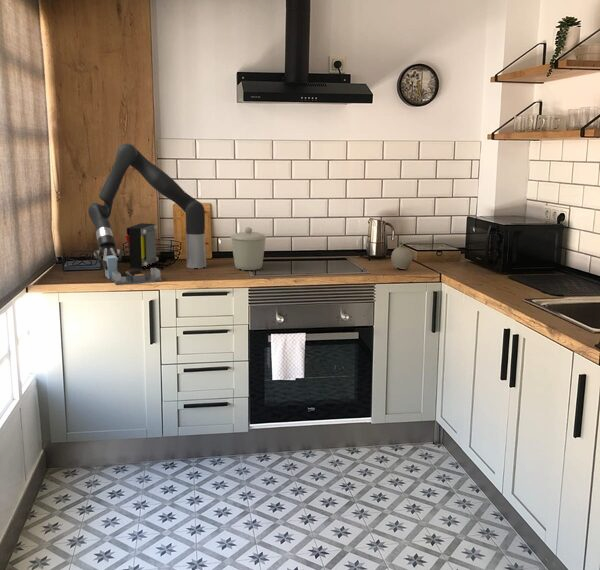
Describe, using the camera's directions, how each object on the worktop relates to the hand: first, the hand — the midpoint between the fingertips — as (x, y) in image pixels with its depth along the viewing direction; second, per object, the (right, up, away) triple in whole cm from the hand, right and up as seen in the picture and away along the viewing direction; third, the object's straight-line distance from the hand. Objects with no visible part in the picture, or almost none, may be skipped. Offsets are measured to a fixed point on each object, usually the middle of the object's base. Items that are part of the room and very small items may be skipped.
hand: (111, 268), depth 325 cm
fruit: (+139, 0, +32) cm, 142 cm away
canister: (+61, 0, +27) cm, 67 cm away
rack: (+12, -5, -3) cm, 14 cm away
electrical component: (+7, +3, +33) cm, 34 cm away
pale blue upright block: (-1, -4, +3) cm, 5 cm away
